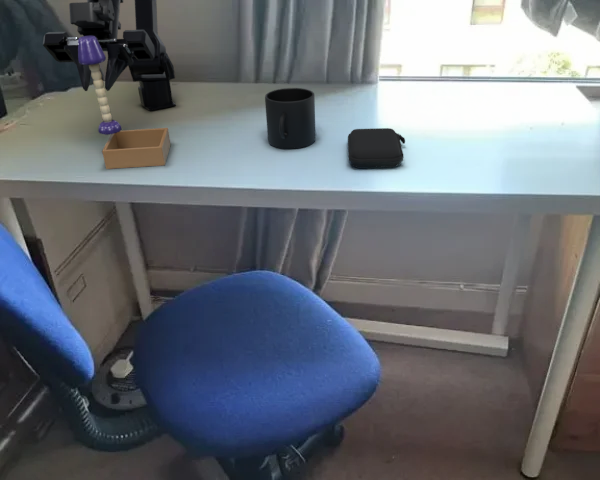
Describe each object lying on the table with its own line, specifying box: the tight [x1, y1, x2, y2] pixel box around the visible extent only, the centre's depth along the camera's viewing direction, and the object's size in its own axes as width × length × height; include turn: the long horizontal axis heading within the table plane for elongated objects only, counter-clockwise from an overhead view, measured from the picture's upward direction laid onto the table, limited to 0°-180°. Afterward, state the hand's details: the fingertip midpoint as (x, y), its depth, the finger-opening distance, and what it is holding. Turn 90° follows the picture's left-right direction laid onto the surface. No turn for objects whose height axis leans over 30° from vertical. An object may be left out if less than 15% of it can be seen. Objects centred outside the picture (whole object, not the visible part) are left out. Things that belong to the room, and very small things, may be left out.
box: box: [101, 127, 172, 170], centre depth 119 cm, size 11×11×4 cm
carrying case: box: [347, 127, 406, 169], centre depth 115 cm, size 11×3×15 cm
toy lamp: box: [78, 35, 123, 136], centre depth 112 cm, size 5×5×17 cm
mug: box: [264, 87, 317, 150], centre depth 120 cm, size 9×12×9 cm
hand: (95, 89), depth 111 cm, fingers closed on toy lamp, 4 cm apart
